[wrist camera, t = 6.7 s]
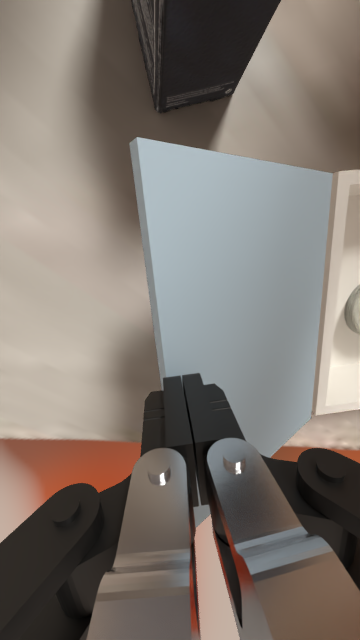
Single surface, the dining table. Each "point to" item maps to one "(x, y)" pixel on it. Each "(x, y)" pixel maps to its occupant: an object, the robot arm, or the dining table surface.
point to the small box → (198, 46)
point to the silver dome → (353, 311)
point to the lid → (235, 279)
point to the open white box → (339, 302)
